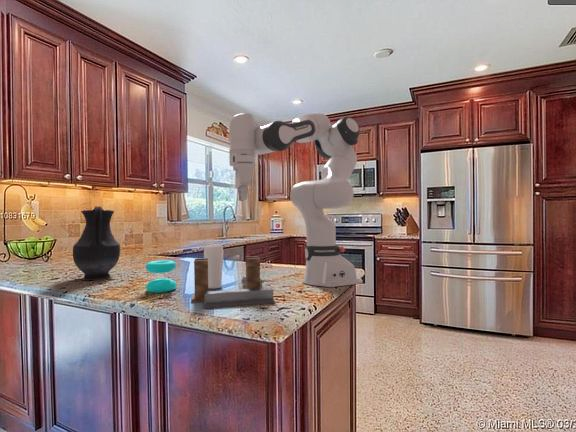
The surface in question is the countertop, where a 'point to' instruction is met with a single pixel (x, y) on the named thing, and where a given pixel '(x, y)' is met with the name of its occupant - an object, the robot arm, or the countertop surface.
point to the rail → (238, 295)
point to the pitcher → (96, 245)
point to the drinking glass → (214, 265)
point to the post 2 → (252, 272)
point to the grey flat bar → (239, 304)
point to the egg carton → (245, 282)
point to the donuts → (160, 284)
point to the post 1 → (200, 279)
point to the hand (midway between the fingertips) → (242, 200)
